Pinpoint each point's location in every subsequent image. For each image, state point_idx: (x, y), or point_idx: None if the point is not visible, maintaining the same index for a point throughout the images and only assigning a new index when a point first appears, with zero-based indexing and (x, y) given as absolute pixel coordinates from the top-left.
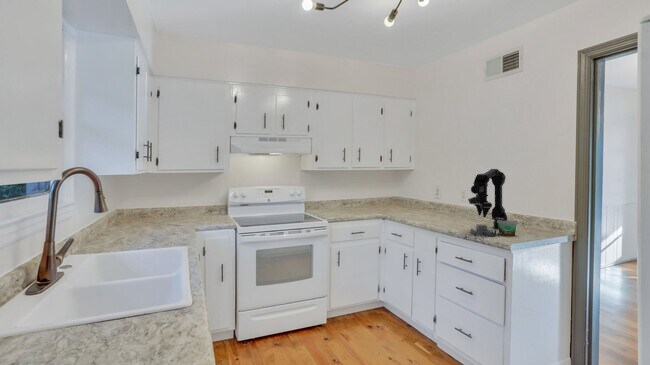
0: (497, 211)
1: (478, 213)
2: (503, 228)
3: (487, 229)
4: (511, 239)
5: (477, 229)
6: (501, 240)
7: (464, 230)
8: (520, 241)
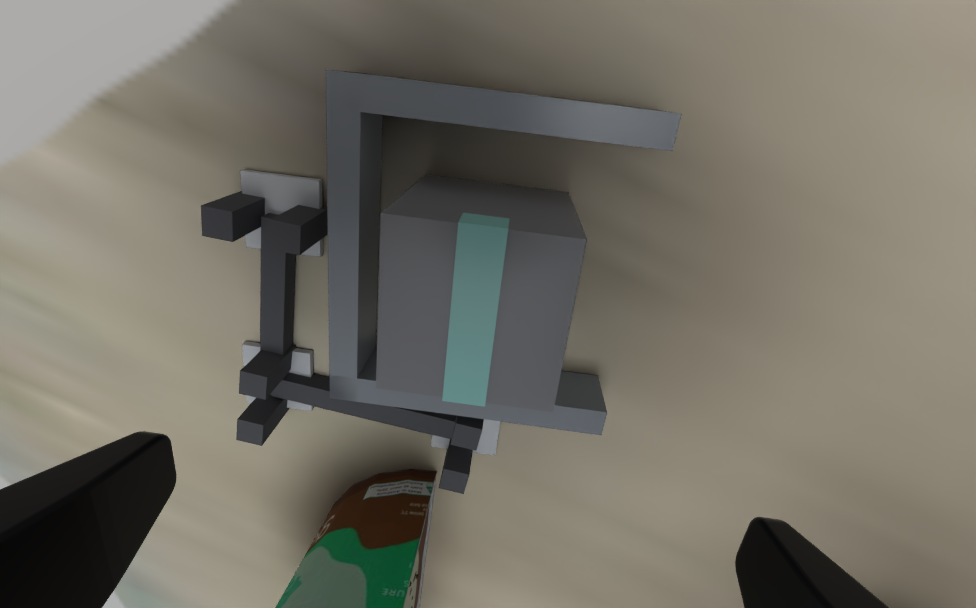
0: None
1: (800, 570)
2: (306, 570)
3: None
4: None
5: (501, 201)
6: (25, 313)
7: (869, 52)
8: None
